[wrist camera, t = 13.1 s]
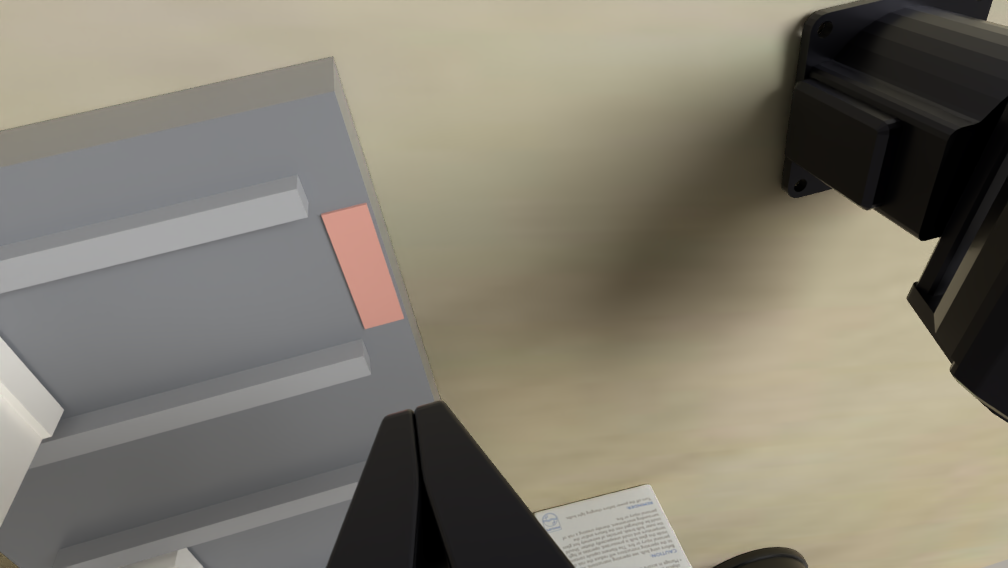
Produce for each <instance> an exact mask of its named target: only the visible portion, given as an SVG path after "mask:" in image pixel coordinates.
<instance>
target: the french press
mask: <svg viewBox="0 0 1008 568" xmlns="http://www.w3.org/2000/svg"><path fill="white" fill-rule="evenodd" d="M715 568H808V565H807V563H806V561H805V559H804V557H803V556H802V555H801V554H800V553H798V552H797V551H795V550H792V549H789V548H780V547H777V548H766V549H761V550H756V551H752V552H749V553H746V554H743V555H740V556H738V557H735V558H733V559H730V560H728V561H726V562H724V563H722V564H720V565H719V566H717V567H715Z"/></svg>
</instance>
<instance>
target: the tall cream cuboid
mask: <svg viewBox="0 0 1008 568" xmlns="http://www.w3.org/2000/svg"><path fill="white" fill-rule="evenodd" d="M119 568H204V567H203V566H202V565H201V564H200V563H199V562H198V560H197V559H196V558H195V557H194V556H193V555H192V554H191V552H190V551H189V550H188V549H187V548H184V549H180V550H177V551H174V552H170V553H167V554H163V555H160V556H157V557H153V558H150V559H146V560H143V561H140V562H136V563H133V564H129V565H126V566H123V567H119Z"/></svg>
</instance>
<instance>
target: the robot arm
mask: <svg viewBox="0 0 1008 568" xmlns="http://www.w3.org/2000/svg"><path fill="white" fill-rule="evenodd" d="M992 1H993V0H860V1H856V2H852V3H848V4H843V5H839V6H835V7H831V8H826V9H822V10H819V11H816V12H814V13H813V14H812V15H811V16H810V17H808V19H807V21H806V22H805V24H804V27H803V31H802V38H801V46H800V53H799V60H798V67H797V75H796V82H795V88H794V90H793V97H792V105H791V112H790V119H789V126H788V134H787V141H786V148H785V162H784V169H783V177H782V184H781V185H782V190H783V191H784V192H785V193H786V194H788V195H789V196H790V197H793V198H799V197H803V196H806V195H810V194H814V193H818V192H822V191H825V190H829V189H834V190H835V191H837V192H838V193H840V194H841V195H843V196H844V197H846V198H847V199H849V200H850V201H852V202H853V203H855V204H856V205H858V206H859V207H861V208H862V209H864V210H870V209H874V210H875V211H877V212H878V213H880V214H881V215H883V216H884V217H886V218H887V219H889V220H890V221H892V222H893V223H895V224H896V225H898V226H900V227H901V228H903V229H904V230H906V231H907V232H909V233H910V234H912V235H913V236H915V237H916V238H918V239H919V240H921V241H926V240H930V239H933V238H937V237H939V238H940V239H939V241H938V243H937V245H936V247H935V249H934V251H933V253H932V255H931V257H930V259H929V261H928V263H927V265H926V267H925V269H924V271H923V273H922V275H921V277H920V279H919V281H918V282H915V283H914V284H913V286H912V288H911V290H910V292H909V294H908V296H907V300H908V302H909V303H910V305H911V306H912V308H913V309H914V310H915V312H916V313H917V315H918V316H919V318H920V319H921V320H922V322H923V323H924V325H925V326H926V328H927V329H928V331H929V332H930V333H931V335H932V336H933V338H934V339H935V341H936V342H937V343H938V345H939V346H940V348H941V349H942V351H943V352H944V354H945V355H946V356H947V358H948V359H949V361H950V362H951V364H952V365H951V367H950V372H951V374H952V375H953V377H954V378H955V379H956V381H957V382H958V383H959V384H961V385H962V386H963V387H964V388H965V389H966V390H967V391H969V392H970V393H971V394H972V395H973V396H974V397H975V398H977V399H978V400H979V401H980V402H981V403H982V404H983V405H984V406H986V407H987V408H988V409H989V410H990V411H991V412H992V413H993V414H995V415H997V416H998V417H1000V418H1001V419H1003V420H1004V421H1006V422H1008V27H1007V26H1003V25H1000V24H996V23H992V22H988V21H986V20H987V17H988V14H989V10H990V7H991V4H992ZM822 23H824V24H825V25H824V28H823V30H822V31H821V32H820V33H819V34H818V29H819V27H820V26H821V24H822ZM799 180H800V181H799ZM798 181H799V183H798V184H797V185H796V186H795V184H796V183H797V182H798ZM326 568H575V566H574V565H573V564H572V563H571V561H570V560H569V559H568V558H567V556H566V555H565V554H564V553H563V551H562V550H561V549H560V548H559V546H558V545H557V544H556V542H555V541H554V540H553V539H552V537H551V536H550V535H549V534H548V532H547V531H546V530H545V529H544V527H543V526H542V525H541V523H540V522H539V521H538V520H537V518H536V517H535V516H534V515H533V513H532V512H531V511H530V510H529V508H528V507H527V506H526V505H525V503H524V502H523V501H522V499H521V498H520V497H519V496H518V494H517V493H516V492H515V491H514V489H513V488H512V487H511V486H510V484H509V483H508V482H507V480H506V479H505V478H504V477H503V475H502V474H501V473H500V472H499V470H498V469H497V468H496V467H495V465H494V464H493V463H492V462H491V460H490V459H489V458H488V456H487V455H486V454H485V453H484V451H483V450H482V449H481V448H480V446H479V445H478V444H477V443H476V441H475V440H474V439H473V437H472V436H471V435H470V434H469V432H468V431H467V430H466V429H465V427H464V426H463V425H462V424H461V422H460V421H459V420H458V419H457V417H456V416H455V415H454V413H453V412H452V411H451V410H450V408H449V407H448V406H447V405H446V403H445V402H443V401H441V400H439V401H435V402H431V403H428V404H424V405H421V406H418V407H416V408H415V411H413V410H411V409H406V410H403V411H399V412H396V413H392V414H389V415H386V416H385V417H384V418H383V419H382V422H381V424H380V427H379V429H378V432H377V434H376V437H375V440H374V442H373V445H372V448H371V450H370V453H369V455H368V458H367V461H366V463H365V466H364V468H363V471H362V474H361V476H360V479H359V482H358V484H357V487H356V489H355V492H354V495H353V497H352V500H351V503H350V505H349V508H348V510H347V513H346V516H345V518H344V521H343V524H342V526H341V529H340V531H339V534H338V537H337V539H336V542H335V544H334V547H333V550H332V552H331V555H330V558H329V560H328V563H327V565H326Z"/></svg>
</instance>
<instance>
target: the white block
mask: <svg viewBox="0 0 1008 568" xmlns="http://www.w3.org/2000/svg"><path fill="white" fill-rule="evenodd" d="M63 411H64V409H63V408H62V407H61V406H60V405H59V403H58V402H57V401H56V400H55V399H54V398H53V397H52V395H51V394H50V393H49V392H48V391H47V390H46V389H45V387H44V386H43V385H42V384H41V383H40V382H39V381H38V379H37V378H36V377H35V376H34V375H33V374H32V373H31V371H30V370H29V369H28V368H27V367H26V366H25V365H24V363H23V362H22V361H21V360H20V359H19V358H18V356H17V355H16V354H15V353H14V352H13V351H12V350H11V348H10V347H9V346H8V345H7V344H6V343H5V342H4V340H3V339H2V338H1V337H0V527H1V525H2V523H3V521H4V518H5V516H6V514H7V512H8V510H9V508H10V506H11V504H12V502H13V500H14V498H15V495H16V493H17V491H18V489H19V487H20V485H21V483H22V481H23V479H24V477H25V475H26V472H27V470H28V468H29V466H30V464H31V462H32V460H33V458H34V456H35V454H36V451H37V449H38V447H39V445H40V443H41V441H42V439H45V438H48V437H52V435H53V433H54V431H55V429H56V427H57V424H58V422H59V420H60V418H61V416H62V414H63Z"/></svg>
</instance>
